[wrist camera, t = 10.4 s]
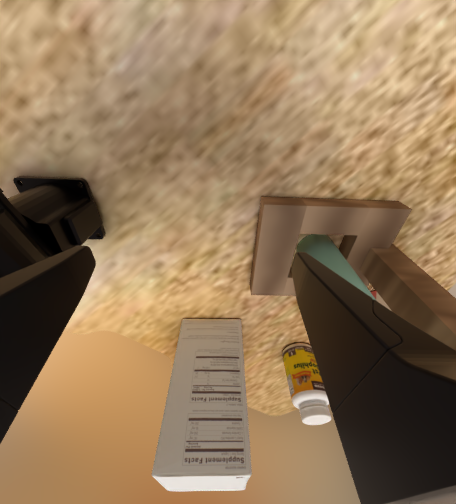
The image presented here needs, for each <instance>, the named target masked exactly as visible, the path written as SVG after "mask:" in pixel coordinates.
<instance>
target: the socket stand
mask: <svg viewBox="0 0 456 504" xmlns="http://www.w3.org/2000/svg"><path fill="white" fill-rule="evenodd" d="M411 210H412V209H411V208H409V207H407V206H405V205H404V204H402V203H400V202H399V201H378V200H348V199H319V198H289V197H261V203H260V211H259V218H258V226H257V233H256V241H255V248H254V256H253V263H252V271H251V278H250V289H251V295H280V296H296V293H295V288H294V282H293V277H292V271H291V264H292V260H293V256H294V253H295V249H296V245H297V241H298V238H299V234H324V235H345V236H344V238H343V241H342V243H341V246H340V248H339V251H340V252H341V254H342V255H343V256H344V258H345V259H346V260H347V262H348V263H349V264H350V266H351V267H352V268H353V270H354V271H355V272H356V274H357V275H358V276H359V278H360V279H361V280H362V282H363V283H364V284H365V286H366V287H367V286H368V284H369V283H370V284H371V285H372V286H373V287H374V289H375V290H376V291H377V292H378V294H379V295H380V296H381V298H382V299H383V300H384V301H385V303H386V304H387V305H388V306H389V308H390V309H391V310H392V312H394V313H395V314H397V315H398V316H400V317H402V318H403V319H405V320H406V321H408V322H410V323H411V324H413V325H415V326H416V327H418V328H419V329H421V330H423V331H424V332H426V333H428V334H429V335H431V336H433V337H434V338H436V339H438V340H439V341H441V342H443V343H444V344H446V345H448V346H449V347H451V348H453V349H454V350H456V298H455V297H453V296H452V295H451V294H450V293H449V292H448V291H447V290H445V289H444V288H443V287H442V286H441V285H440V284H438V283H437V282H436V281H435V280H434V279H433V278H431V277H430V276H429V275H428V274H427V273H426V272H425V271H423V270H422V269H421V268H420V267H419V266H418V265H416V264H415V263H414V262H413V261H412V260H411V259H410V258H408V257H407V256H406V255H405V254H404V253H403V252H401V251H400V250H399V249H398V248H397V247H396V246H394V245H393V244H392V243H393V241H394V240H395V238H396V236H397V234H398V233H399V231H400V229H401V227H402V226H403V224H404V222H405V221H406V219H407V217H408V215H409V214H410V212H411Z"/></svg>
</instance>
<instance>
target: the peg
mask: <svg viewBox="0 0 456 504" xmlns="http://www.w3.org/2000/svg"><path fill="white" fill-rule="evenodd" d="M297 252H306V253H307V254H309V255H310V256H312V257H313V258H315V259H316V260H318V261H319V262H321V263H322V264H324V265H325V266H326V267H328V268H329V269H331V270H332V271H334V272H335V273H337V274H338V275H340V276H341V277H342V278H344V279H345V280H347V281H348V282H350V283H351V284H353V285H354V286H356V287H357V288H358V289H360V290H361V291H363V292H364V293H366V294H367V295H369V296H370V297H372V298H373V299H374V300H376V299H375V298H374V296H373V295H372V294H371V292H370V291H369V290H368V288H367V287H366V286H365V284H364V283H363V282H362V280H361V279H360V278H359V276H358V275H357V274H356V272H355V271H354V270H353V268H352V267H351V266H350V264H349V263H348V262H347V260H346V259H345V258H344V256H343V255H342V254H341V252H340V251H339V250H338V248H337V247H336V246H335V244H334V243H333V242H332V240H331V239H330V238H329V237H328V236H327V235H324V234H311V235H308V236H306V237H305V238H303V239H302V240H301V241H300V243H299V244H298V247H297ZM376 301H377V300H376Z"/></svg>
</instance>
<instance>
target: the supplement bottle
mask: <svg viewBox="0 0 456 504" xmlns="http://www.w3.org/2000/svg"><path fill="white" fill-rule="evenodd" d="M282 356H283V361H284V366H285V370H286V375H287V380H288V385H289V390H290V394H291V399H292V403H293V405H294V406H295V407H296V408H298V409H299V410H300V414H301V418H302V422H303V423H305V424H309V425H320V424H324V423H327V422H329V421H330V420H331V416H330V413H329V409H328V406H327V405H328V404H329V401H328V398H327V395H326V391H325V388H324V385H323V382H322V379H321V376H320V372H319V369H318V366H317V363H316V360H315V357H314V353H313V350H312V347H311V346H310V345H308V344H304V343H296V344H292V345H289V346H288V347H286V348H285V349H284V350H283V353H282Z"/></svg>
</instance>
